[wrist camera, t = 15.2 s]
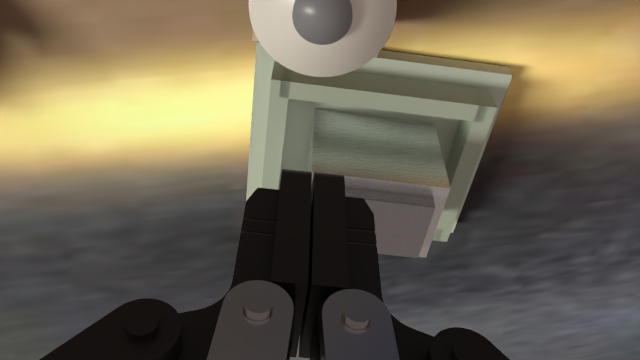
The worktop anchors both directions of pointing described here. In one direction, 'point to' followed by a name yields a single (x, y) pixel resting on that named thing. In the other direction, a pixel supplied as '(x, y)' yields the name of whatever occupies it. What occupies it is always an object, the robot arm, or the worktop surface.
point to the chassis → (378, 113)
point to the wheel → (322, 32)
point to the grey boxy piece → (385, 173)
